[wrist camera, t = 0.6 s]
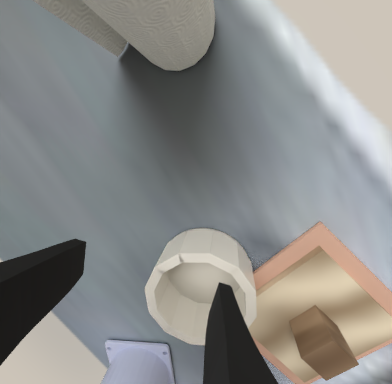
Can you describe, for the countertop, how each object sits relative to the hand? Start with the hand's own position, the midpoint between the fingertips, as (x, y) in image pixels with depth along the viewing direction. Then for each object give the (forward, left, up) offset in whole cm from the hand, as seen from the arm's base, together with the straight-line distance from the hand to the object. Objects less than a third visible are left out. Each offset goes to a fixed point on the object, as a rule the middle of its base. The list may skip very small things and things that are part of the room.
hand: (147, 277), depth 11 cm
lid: (-11, -11, -9) cm, 19 cm away
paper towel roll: (+15, 0, -10) cm, 18 cm away
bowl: (-6, -1, -10) cm, 12 cm away
